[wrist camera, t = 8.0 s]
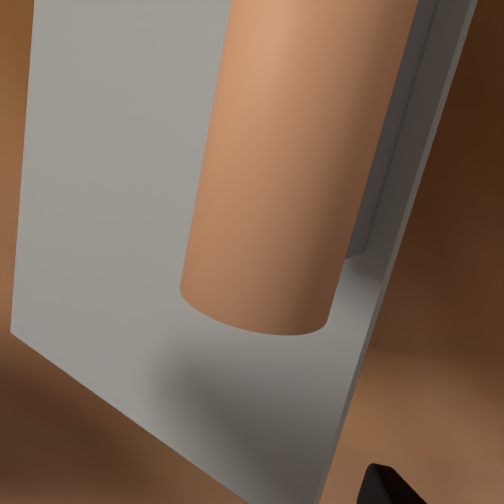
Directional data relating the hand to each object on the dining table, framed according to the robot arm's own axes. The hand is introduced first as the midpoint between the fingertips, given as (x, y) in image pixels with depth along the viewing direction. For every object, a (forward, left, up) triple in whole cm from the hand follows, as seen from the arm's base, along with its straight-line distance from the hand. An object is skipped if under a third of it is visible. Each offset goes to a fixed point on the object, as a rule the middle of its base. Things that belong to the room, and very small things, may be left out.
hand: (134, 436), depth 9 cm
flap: (+7, +1, -5) cm, 9 cm away
